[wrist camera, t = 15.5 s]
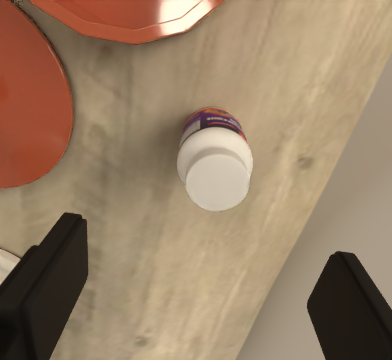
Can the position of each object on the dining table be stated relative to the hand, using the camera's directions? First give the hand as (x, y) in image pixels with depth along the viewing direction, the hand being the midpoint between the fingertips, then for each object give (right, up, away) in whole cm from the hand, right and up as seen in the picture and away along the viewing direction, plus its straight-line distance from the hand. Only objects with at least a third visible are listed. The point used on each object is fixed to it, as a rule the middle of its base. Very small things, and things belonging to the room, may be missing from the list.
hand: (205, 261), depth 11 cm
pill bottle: (+1, +7, +15) cm, 17 cm away
